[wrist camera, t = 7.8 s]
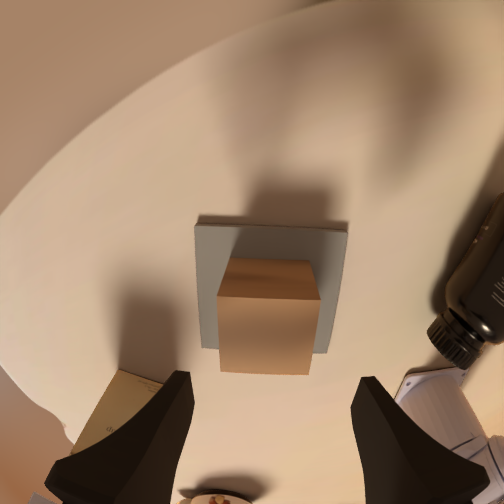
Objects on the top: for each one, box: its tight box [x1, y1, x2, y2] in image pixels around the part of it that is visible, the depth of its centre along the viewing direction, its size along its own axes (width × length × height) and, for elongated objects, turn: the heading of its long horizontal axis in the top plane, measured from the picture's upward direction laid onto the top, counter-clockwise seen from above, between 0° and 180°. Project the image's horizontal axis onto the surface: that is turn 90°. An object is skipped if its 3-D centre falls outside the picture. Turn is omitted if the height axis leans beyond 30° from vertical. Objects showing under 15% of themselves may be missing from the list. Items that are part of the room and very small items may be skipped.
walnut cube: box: [217, 258, 321, 375], centre depth 17 cm, size 5×5×5 cm
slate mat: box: [194, 223, 348, 353], centre depth 20 cm, size 10×10×1 cm
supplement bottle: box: [427, 192, 504, 370], centre depth 15 cm, size 7×7×12 cm
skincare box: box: [69, 370, 163, 456], centre depth 19 cm, size 6×4×12 cm
